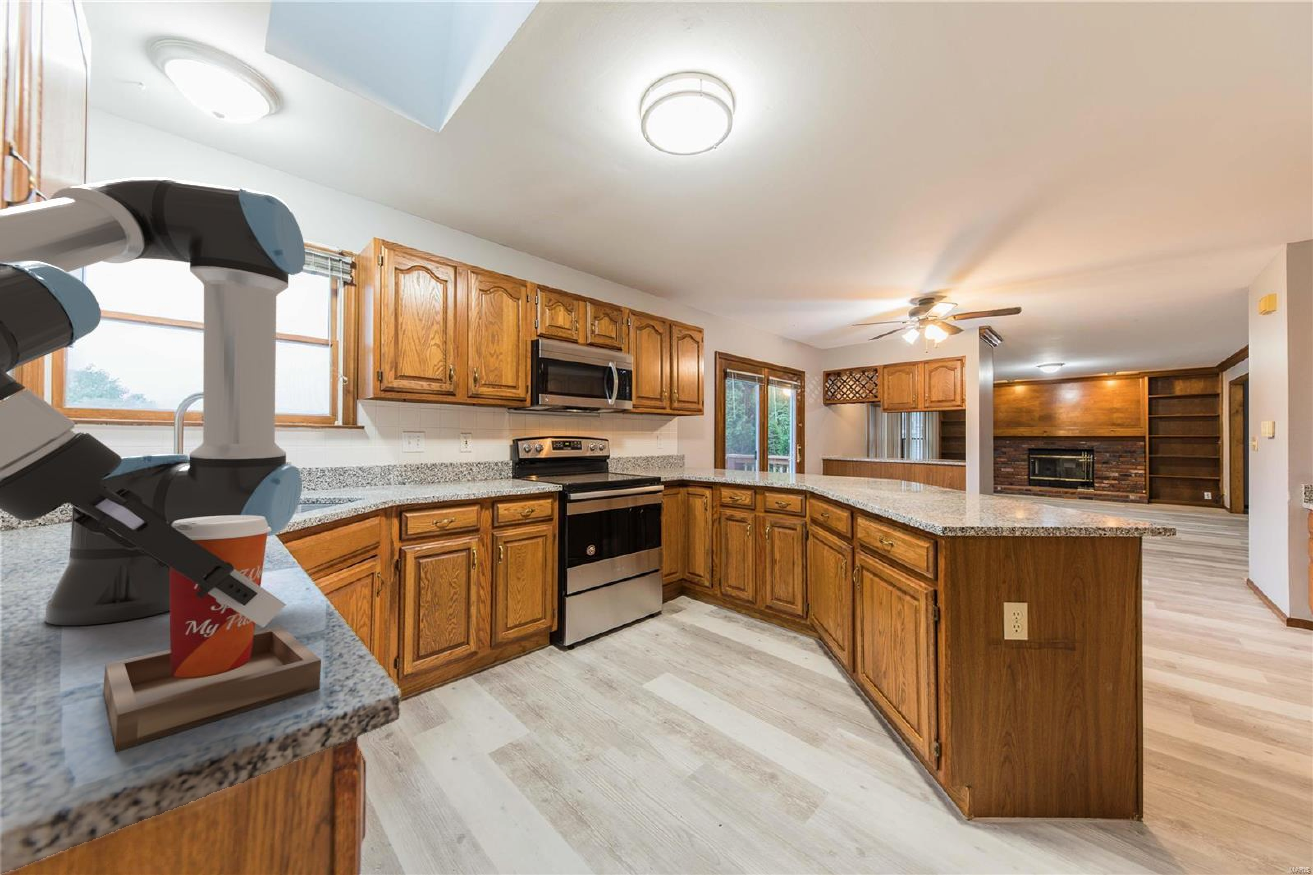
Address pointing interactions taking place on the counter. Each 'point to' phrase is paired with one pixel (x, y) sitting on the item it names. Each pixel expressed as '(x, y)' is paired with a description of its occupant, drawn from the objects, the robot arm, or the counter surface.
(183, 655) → the coffee cup
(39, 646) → the counter surface
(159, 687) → the walnut tray
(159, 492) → the robot arm
